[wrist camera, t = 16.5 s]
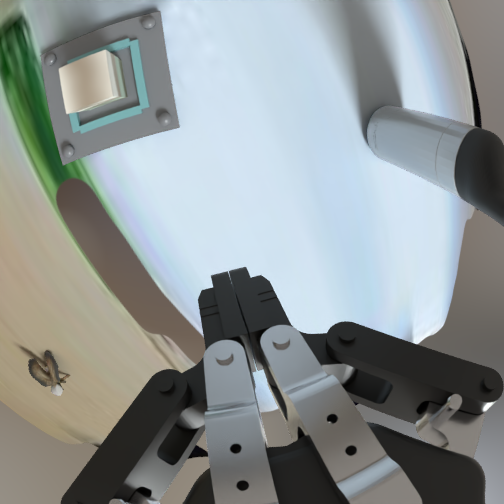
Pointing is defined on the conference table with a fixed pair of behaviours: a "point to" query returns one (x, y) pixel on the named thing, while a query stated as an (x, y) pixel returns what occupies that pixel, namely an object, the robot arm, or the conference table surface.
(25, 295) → the conference table surface
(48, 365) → the eagle figurine
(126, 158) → the conference table surface
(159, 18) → the baseplate
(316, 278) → the conference table surface
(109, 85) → the beige block
